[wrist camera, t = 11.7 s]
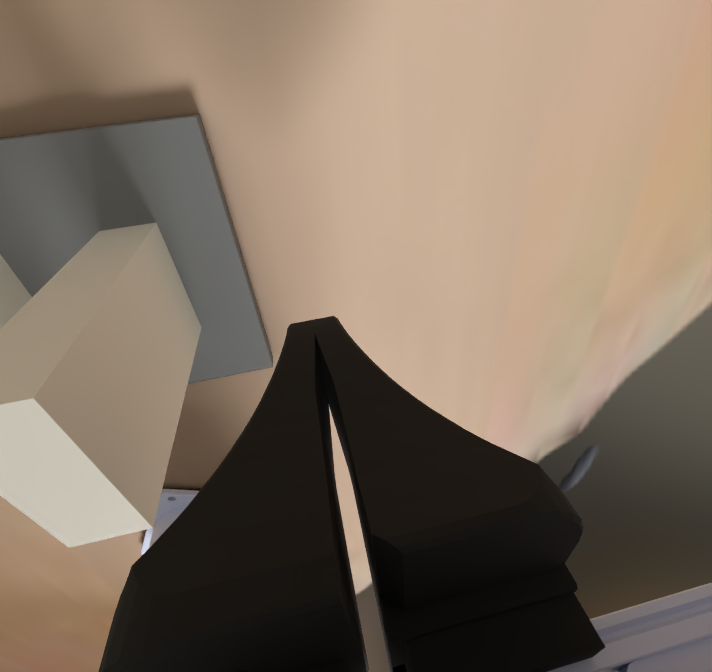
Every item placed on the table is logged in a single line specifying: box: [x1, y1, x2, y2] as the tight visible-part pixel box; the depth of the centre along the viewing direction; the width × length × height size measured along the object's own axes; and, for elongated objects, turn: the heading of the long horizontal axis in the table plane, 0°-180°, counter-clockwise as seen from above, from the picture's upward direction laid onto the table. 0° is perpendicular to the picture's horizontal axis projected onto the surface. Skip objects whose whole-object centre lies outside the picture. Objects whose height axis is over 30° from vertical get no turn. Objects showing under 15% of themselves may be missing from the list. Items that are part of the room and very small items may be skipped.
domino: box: [0, 223, 201, 548], centre depth 11 cm, size 2×5×9 cm, turn 5°
